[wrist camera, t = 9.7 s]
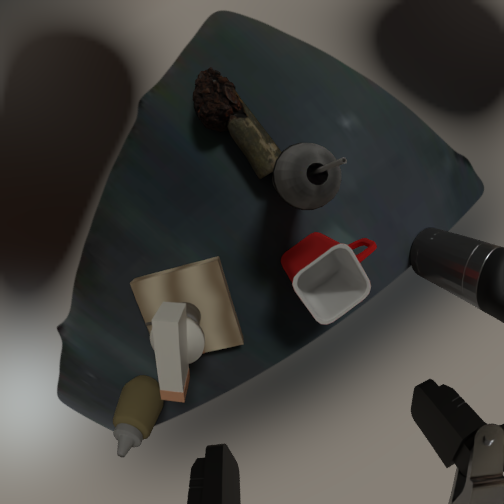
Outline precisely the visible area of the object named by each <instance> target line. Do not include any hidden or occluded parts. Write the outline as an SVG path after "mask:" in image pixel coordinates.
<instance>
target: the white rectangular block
mask: <svg viewBox="0 0 504 504" xmlns="http://www.w3.org/2000/svg"><path fill="white" fill-rule="evenodd" d="M150 342H151V345H152V348H153V349H154V351H155V357H156V365H157V372H158V379H159V386H160V395H161V400H169V401H177V402H185V398H186V393H187V389H188V384H189V380H190V371H189V364H190V363H192V362H194V361H196V360H197V359H198V358H199V357H200V356H201V355H202V353H203V350H204V345H205V335H204V332H203V330H202V328H201V327H200V325H199V324H198V323H197V322H196V321H195V320H193V319H192V318H190V317H188V316H186V303H174V302H163V303H162V304H161V306H160V307H159V309H158V311H157V312H156V314H155V315H154V317H153V319H152V330H151V333H150Z"/></svg>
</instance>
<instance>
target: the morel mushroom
mask: <svg viewBox="0 0 504 504" xmlns="http://www.w3.org/2000/svg"><path fill="white" fill-rule="evenodd" d="M195 85H196V86H195V90H194V92H193V101H194V108H195V110H196V112H197V116H198V117H199V119H200V120H201V122H202V123H203V124H204V126H205V127H206V128H208V129H211V130H217V131H219V132H223V131H228V130H229V133H230V135H231V137H232V138H233V139H234V141H235V142H236V144H237V145H238V147H239V148H240V149H241V151H242V152H243V153H244V155H245V156H246V157H247V159H248V161H249V163H250V165H251V166H252V168H253V170H254V171H255V173H256V175H257V176H258V178H259V179H261V178H263V177H265V176H267V175H268V174H270V173H271V172H273V168H274V165H275V161H276V159H277V158H278V157H279V155H280V154H281V151H280V149H279V148H278V147H277V145H276V144H275V143H274V141H273V140H272V138H271V137H270V136H269V135H268V133H267V132H266V131H265V129H264V128H263V127H262V126H261V124H260V123H259V122H258V120H257V119H256V118H255V116H254V115H253V114H252V112H251V111H250V110H249V109H248V107H247V106H246V105H245V104H244V102H243V101H242V100H241V98H240V97H239V95H238V94H237V92H236V90H235V86H234V84H233V83H232V82H229V80H228V79H227V77H222V76H220V72H219V71H216V70H213V69H212V68H211V67H210V68H209V69H208V70H205V71H201V72H200V74H199V75H198V78H197V79H196V81H195Z"/></svg>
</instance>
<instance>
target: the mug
mask: <svg viewBox="0 0 504 504" xmlns="http://www.w3.org/2000/svg"><path fill="white" fill-rule="evenodd" d="M363 245H365V246H367V247H368V248H367V249H365V250H364V251H363V252H361V253H360V254H358V255H355V254H354V252H353V251H352V249H355V248H357V247H359V246H363ZM376 248H377V245H376V244H375V242H374V241H371V240H369V239H367V238H363V239H360V240H357V241H355V242H353V243H351V244H349V245H347V244H341V243H339V242H337V241H335V240H333V239H331V238H329V237H327V236H325V235H323V234H321V233H318V232H314V233H312V234H310V235H308V236H307V237H306V238H304V239H303V240H302V241H300V242H299V243H297V244H296V245H295V246H293V247H292V248H291V249H289V250H288V251H286V252H285V253H284V254H283V256H282V257H281V264H282V267H283V269H284V270H285V272H286V274H287V275H288V277H289V279H290V280H291V282H292V285H293V288H294V291H295V292H296V294H297V295H298V296H299V298H300V299H301V300H302V302H303V303H304V305H305V306H306V307H307V309H308V310H309V312H310V313H311V314H312V316H313V317H314V318H315V320H316V321H317V322H319V323H320V324H329V323H332V322H334V321H335V320H337V319H338V318H339V317H341V316H342V315H343V314H345V313H346V312H348V311H349V310H350V309H352V308H353V307H354V306H356V305H357V304H358V303H360V302H361V301H362V300H363V299H365V298H366V296H367V295H368V294H369V292H370V289H371V284H370V280H369V279H368V277H367V275H366V273H365V271H364V270H363V268H362V266H361V264H360V262H361V261H363V260H364V259H365V258H366V257H367V256H369V255H370V254H371V253H372V252H373V251H374V250H375V249H376Z"/></svg>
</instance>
